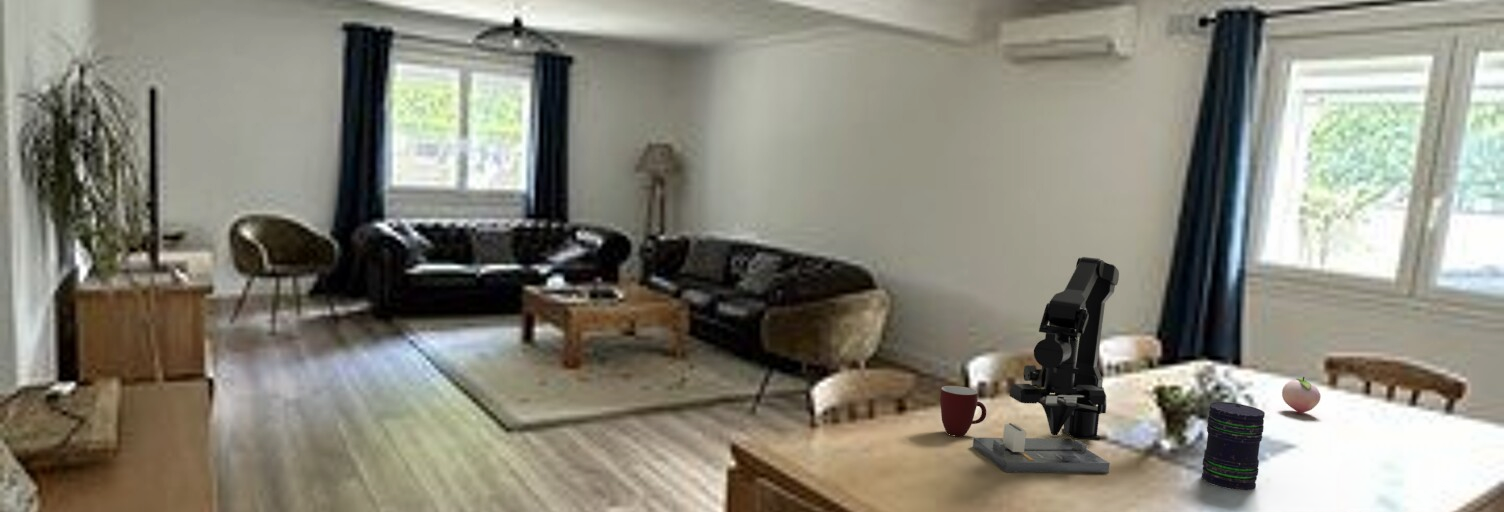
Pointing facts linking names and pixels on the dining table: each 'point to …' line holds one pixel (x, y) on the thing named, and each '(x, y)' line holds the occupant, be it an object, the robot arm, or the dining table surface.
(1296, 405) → the decorative fruit
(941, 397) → the mug
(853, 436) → the dining table surface
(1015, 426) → the fader
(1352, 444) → the dining table surface
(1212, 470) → the storage jar
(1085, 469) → the console
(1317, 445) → the dining table surface
